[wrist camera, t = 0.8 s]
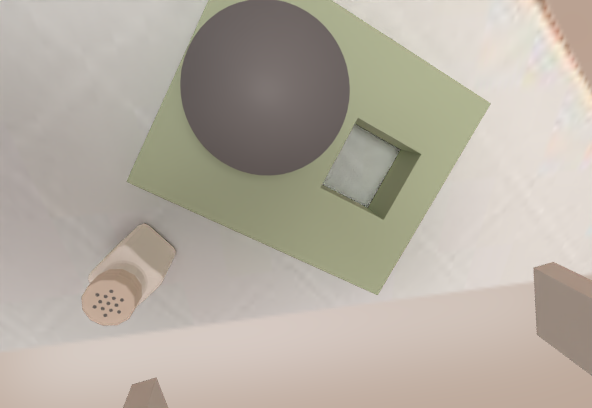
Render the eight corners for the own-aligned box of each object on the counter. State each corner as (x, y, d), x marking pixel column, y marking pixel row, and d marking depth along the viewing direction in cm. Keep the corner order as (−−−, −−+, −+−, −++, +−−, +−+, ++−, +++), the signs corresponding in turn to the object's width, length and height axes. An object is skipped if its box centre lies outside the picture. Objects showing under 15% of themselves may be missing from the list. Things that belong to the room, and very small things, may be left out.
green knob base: (141, 173, 31) (100, 196, 22) (237, -37, 28) (234, -105, 19) (363, 275, 36) (401, 327, 27) (461, 105, 33) (539, 101, 24)
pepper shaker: (112, 249, 32) (59, 304, 23) (145, 218, 32) (105, 260, 22) (147, 280, 33) (110, 343, 24) (180, 250, 33) (155, 302, 23)
